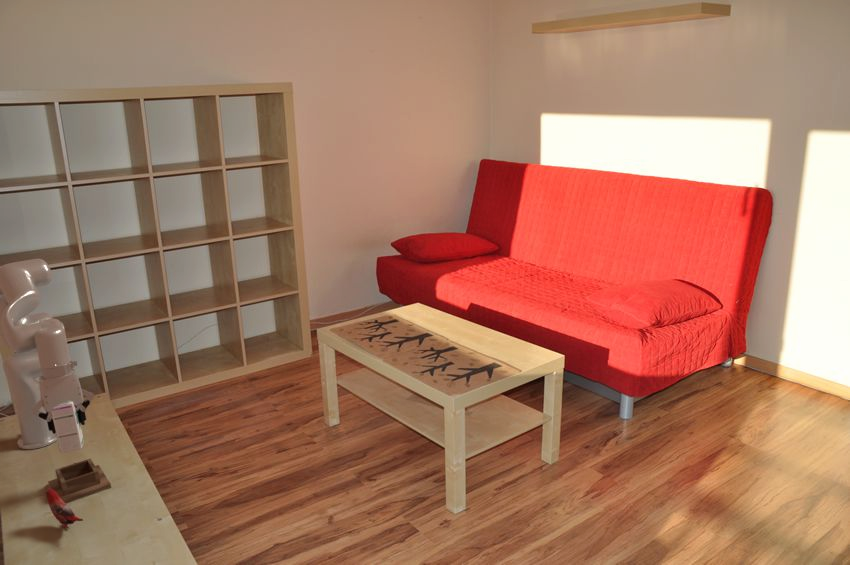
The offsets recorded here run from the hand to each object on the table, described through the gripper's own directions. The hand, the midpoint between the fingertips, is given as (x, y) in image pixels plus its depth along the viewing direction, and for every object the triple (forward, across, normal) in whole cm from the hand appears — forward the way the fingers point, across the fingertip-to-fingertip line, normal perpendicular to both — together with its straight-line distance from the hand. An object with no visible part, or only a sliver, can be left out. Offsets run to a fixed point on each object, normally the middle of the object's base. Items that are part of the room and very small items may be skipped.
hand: (68, 427), depth 194 cm
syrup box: (+6, 0, 0) cm, 6 cm away
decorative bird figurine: (+19, +7, +21) cm, 29 cm away
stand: (+19, 0, 0) cm, 19 cm away
